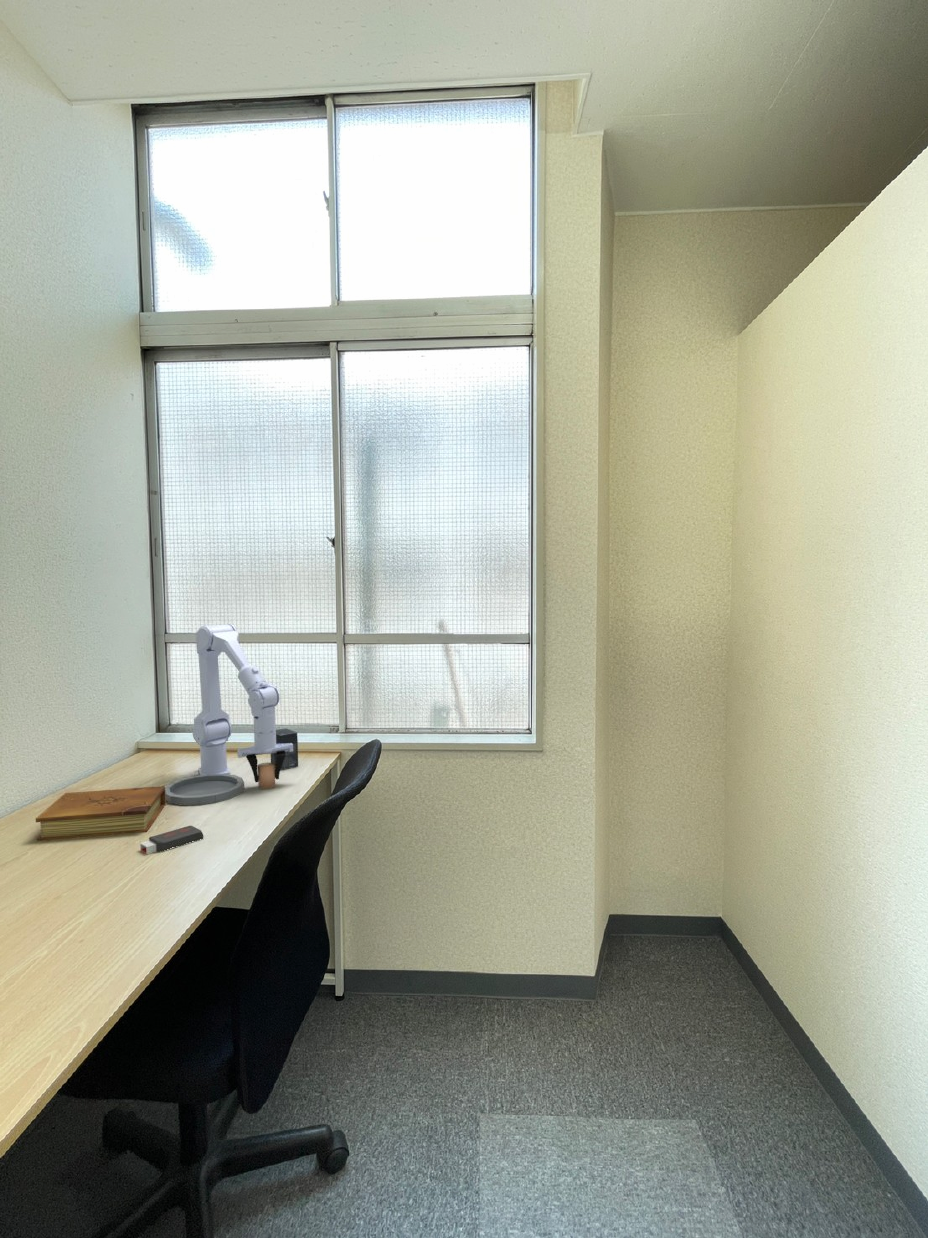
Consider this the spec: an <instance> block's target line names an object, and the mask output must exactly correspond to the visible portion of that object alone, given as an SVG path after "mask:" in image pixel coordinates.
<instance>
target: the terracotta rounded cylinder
mask: <svg viewBox="0 0 928 1238" xmlns="http://www.w3.org/2000/svg"><path fill="white" fill-rule="evenodd" d="M257 772H258V782H257V783H258V789H262V790H263V789H264V790H265V789H271V788H274V787H276V778H275V764H274V763H271V761H269V762H268V761H267V762H261V763H259V764H258V763H257Z"/></svg>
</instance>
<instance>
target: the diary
mask: <svg viewBox="0 0 928 1238" xmlns="http://www.w3.org/2000/svg"><path fill="white" fill-rule="evenodd" d="M165 787H166V786H165V785H164V786H163V785H162V786H150V787H149V786H148V787H135V788H133V787H132V788H118V789H107V790H106V789H105V790H91V791H90V790H89V791H87V790H86V791H76V792H65V793H64V794H62V795H61V796H60V797H59V798H57V800H55V801H54V802H53V803H51V804H50V806H48V807H47V808H46V809H45V810H44V811H42V812H40V814H39V815H38V816H37V817H35V823H40V835H39V836H38V837H37V838H36V841H37V842H40V841H41V842H42V841H53V840H65V839H76V838H77V837H80V838H89V837H88V836H92V837H101V836H115V835H124V834H125V835H127V834H138V833H139V834H141V833H148V832H149V830H150V829H151V827H152V826H153V824H154V823H155V821H156V820H157V818H158V817H159V816H160V814H161V813H162V812H163V809H165V807H166V805H167V802H166V793H165ZM164 806H165V807H164ZM147 831H148V832H147ZM77 839H78V838H77Z"/></svg>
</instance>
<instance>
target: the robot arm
mask: <svg viewBox="0 0 928 1238" xmlns="http://www.w3.org/2000/svg"><path fill="white" fill-rule="evenodd" d="M239 635H240V633H238V631H237V629H236V627H235V625H233V624H232V623H226V624H218V625H217V624H216V625H202V626H200V627H199V628H198V629H197V631H196V633H195V644H196V646H195V647H196V654H197V655H198V667H199V682H200V683H199V684H200V698H201V709H202V710H201V711H200V712H199V714H197V716H195V717H194V719H193V728H192V739H193V741H195V743H196V744H197V745H198V746H199V753H200V767H198V772H199V775H207V774H229V775H231V773H230V769H229V767H228V761H227V759H228V758H227V757H228V756H227V755H228V754H227V742H228V741H229V738H230V737H231V735H232V733H233V727H232V722H231V721H230V714H229V713H227V712H226V711H224V710H223V709H222V699H221V698H222V697H221V682H220V669H219V668H220V666H219V656H220V655H221V654H222V653H224V654H225V655H226V656H227V658H228V659H229V660H230V662H231V663H232V664H233V665H234V667H235V668H236V669H237V671H238V674H237V679H238V680H239V682H240V683H241V685H242V687H243V688H244V690H245V691H246V693H247V694H248V698H247V701H248V702H247V703H248V705H249V707H250V710H251V711H250V714H251V715H252V716H253V736H254V737H253V740H254V746H250V747H245V748H238V749H237V757H238V759H241V758H244V757H245V758H246V760H247V761H248V765H249V766H250V768H251V771H252V774H253V778H254V782H255V783H258V759H257V756H261V755H268V754H270V755H271V753H274V759H275V780H280V774H281V773H280V772H281V770H282V769H281V766H282V764H283V761H284V759H285V757H286V754H285V752H286V751H289V752H292V751H293V744H292V743H287V744H276V730H277V729H276V725H277V724H276V706H277V705H278V704H279V702H280V693H279V691H278V689H277V687H276V686H274V685H272V684H270V683H269V682H267V680H265V678H264V676H263V674H262V673H261V672H260V671H259V669H258V667H257V666H256V665H253V664H250V662H249V660H248V658H247V656H246V655H245V652H244V650H243V648H242V646H241V644H240V642H239V638H240V637H239Z"/></svg>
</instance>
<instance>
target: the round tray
mask: <svg viewBox="0 0 928 1238" xmlns="http://www.w3.org/2000/svg"><path fill="white" fill-rule="evenodd" d="M244 790H245V781H244V779H243V777H241V776H238V775H235V774H207V775H200V774H199V775H194V776H193V775H192V776H190V777H189V776H188V777H185V778H180V779H178V780H176V781H173V782H170V783H168V784H167V785H166V786H165V793H166V801H167V802H166V803H168V802H169V804H171V805H178V806H201V805H202V806H203V805H209V804H216V803H219V802H223V801H227V800H230V799H233V798H235V797H236V796H239V795H241V793H242V792H243V791H244Z"/></svg>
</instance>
